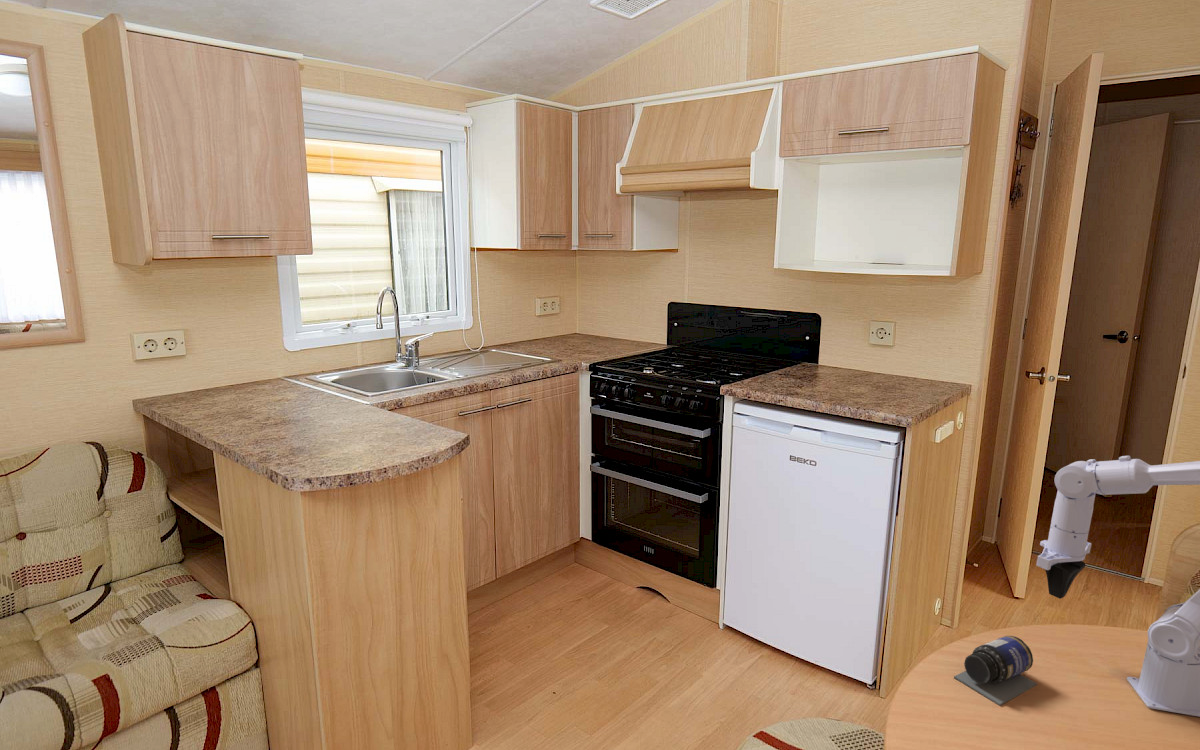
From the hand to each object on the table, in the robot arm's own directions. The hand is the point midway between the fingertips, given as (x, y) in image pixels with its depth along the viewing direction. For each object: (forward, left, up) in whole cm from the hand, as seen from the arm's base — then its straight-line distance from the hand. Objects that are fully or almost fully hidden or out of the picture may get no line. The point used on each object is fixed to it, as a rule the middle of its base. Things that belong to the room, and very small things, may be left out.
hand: (1056, 595), depth 128 cm
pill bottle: (+8, +10, -7) cm, 15 cm away
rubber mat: (+13, +15, -10) cm, 22 cm away
